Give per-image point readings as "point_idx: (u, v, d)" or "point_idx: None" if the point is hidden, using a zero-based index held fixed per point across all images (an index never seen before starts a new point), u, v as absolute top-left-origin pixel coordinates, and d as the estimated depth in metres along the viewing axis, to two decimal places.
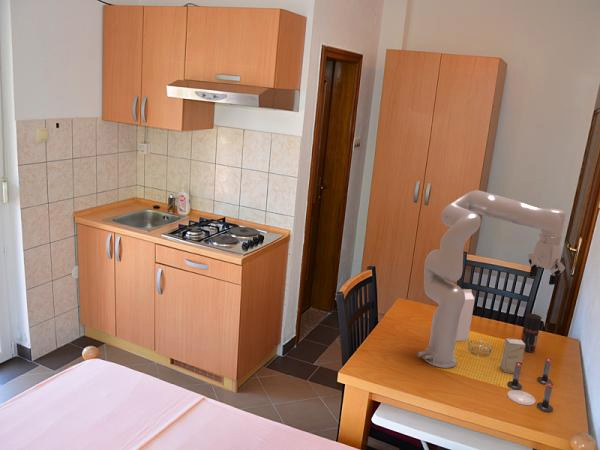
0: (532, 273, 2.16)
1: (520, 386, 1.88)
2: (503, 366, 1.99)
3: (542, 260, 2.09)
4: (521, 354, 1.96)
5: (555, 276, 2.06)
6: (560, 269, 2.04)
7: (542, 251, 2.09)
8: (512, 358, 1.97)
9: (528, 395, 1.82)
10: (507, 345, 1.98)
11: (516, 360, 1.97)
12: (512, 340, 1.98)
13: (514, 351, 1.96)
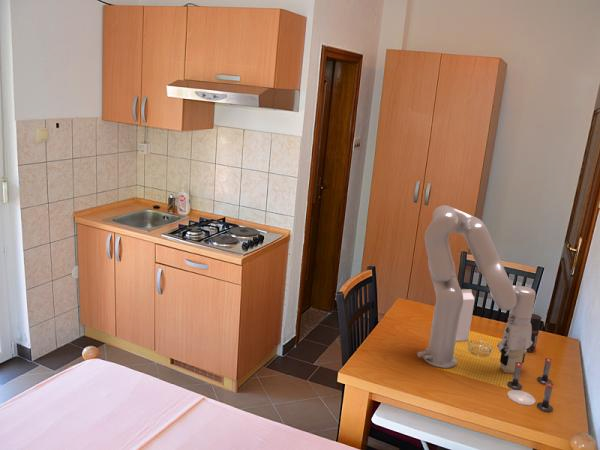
0: None
1: (520, 386, 1.88)
2: (503, 366, 1.99)
3: (522, 343, 1.95)
4: (521, 354, 1.96)
5: None
6: (530, 344, 2.00)
7: (522, 334, 1.94)
8: (513, 358, 1.97)
9: (528, 395, 1.82)
10: None
11: (516, 360, 1.97)
12: None
13: (514, 351, 1.96)
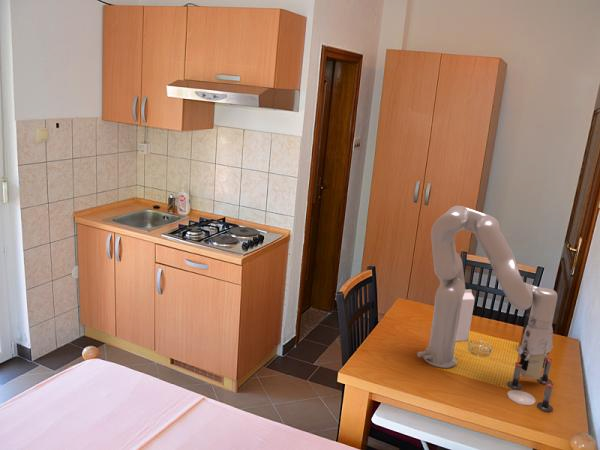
0: None
1: (520, 386, 1.88)
2: (522, 372, 1.90)
3: (543, 347, 1.86)
4: (542, 359, 1.87)
5: None
6: (550, 348, 1.91)
7: (543, 338, 1.85)
8: (533, 363, 1.88)
9: (528, 395, 1.82)
10: None
11: (537, 365, 1.88)
12: None
13: (535, 355, 1.87)
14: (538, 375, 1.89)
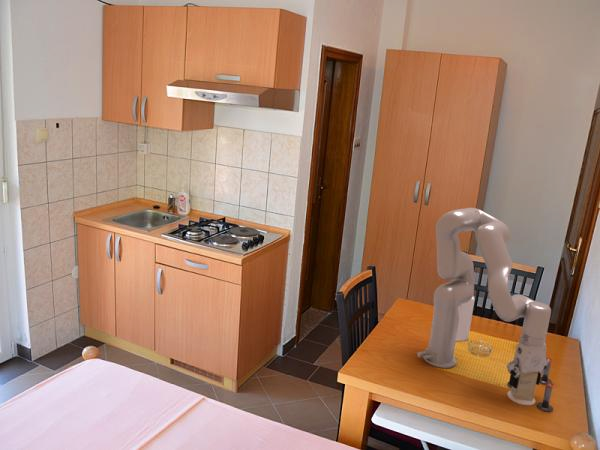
0: None
1: None
2: (514, 392, 1.80)
3: (536, 365, 1.76)
4: (534, 379, 1.77)
5: None
6: (546, 363, 1.81)
7: (535, 356, 1.75)
8: (525, 383, 1.78)
9: None
10: None
11: (529, 386, 1.78)
12: None
13: (527, 375, 1.77)
14: (530, 396, 1.79)
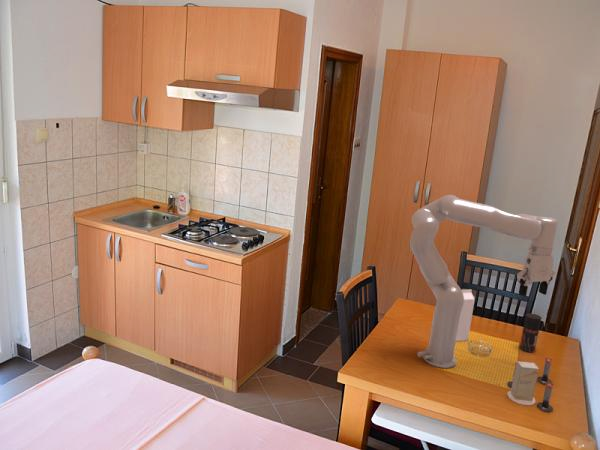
0: None
1: None
2: (514, 392, 1.80)
3: (543, 274, 1.92)
4: (534, 379, 1.77)
5: None
6: (552, 275, 1.97)
7: (543, 265, 1.91)
8: (525, 383, 1.78)
9: None
10: (518, 369, 1.79)
11: (529, 386, 1.78)
12: (524, 363, 1.79)
13: (527, 375, 1.77)
14: (530, 396, 1.79)
